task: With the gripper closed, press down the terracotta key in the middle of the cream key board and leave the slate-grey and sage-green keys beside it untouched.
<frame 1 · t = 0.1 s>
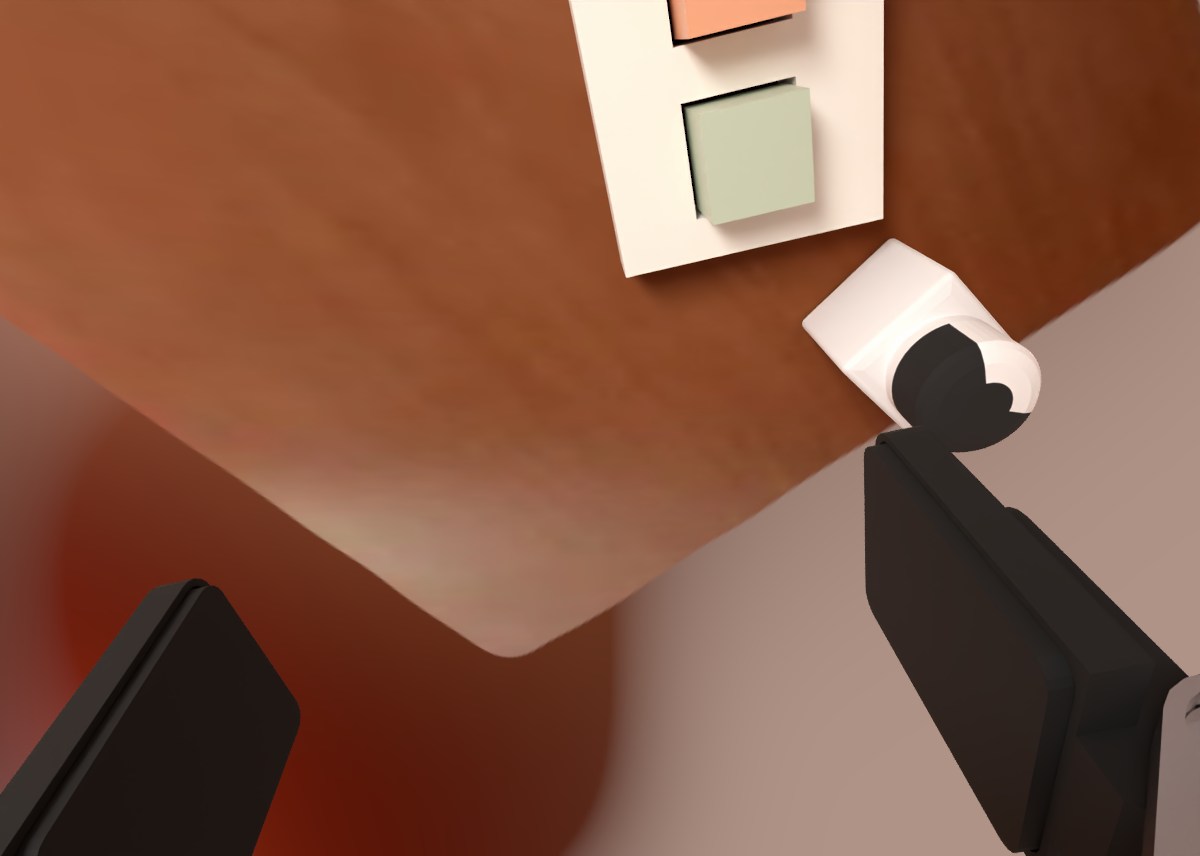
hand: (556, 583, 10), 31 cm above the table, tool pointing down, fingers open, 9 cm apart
key sage: (748, 153, 33), point 4 cm above the table, slide at 0.0 cm
medicine bottle: (876, 314, 42), on the table
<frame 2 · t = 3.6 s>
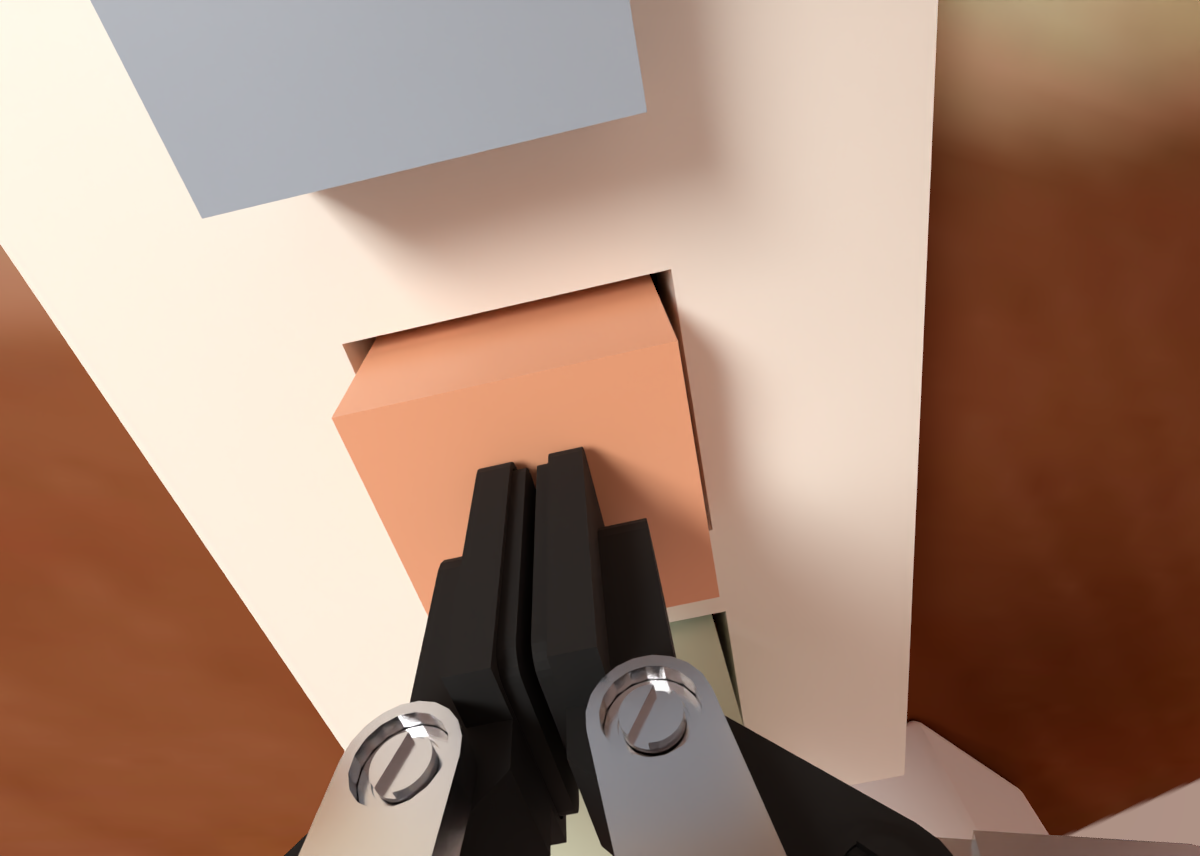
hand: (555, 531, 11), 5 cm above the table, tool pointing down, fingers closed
key sage: (630, 742, 16), point 4 cm above the table, slide at 0.0 cm
key board: (546, 375, 15), on the table
key terracotta: (546, 449, 12), point 3 cm above the table, slide at -0.7 cm, touching gripper
medicine bottle: (886, 794, 25), on the table
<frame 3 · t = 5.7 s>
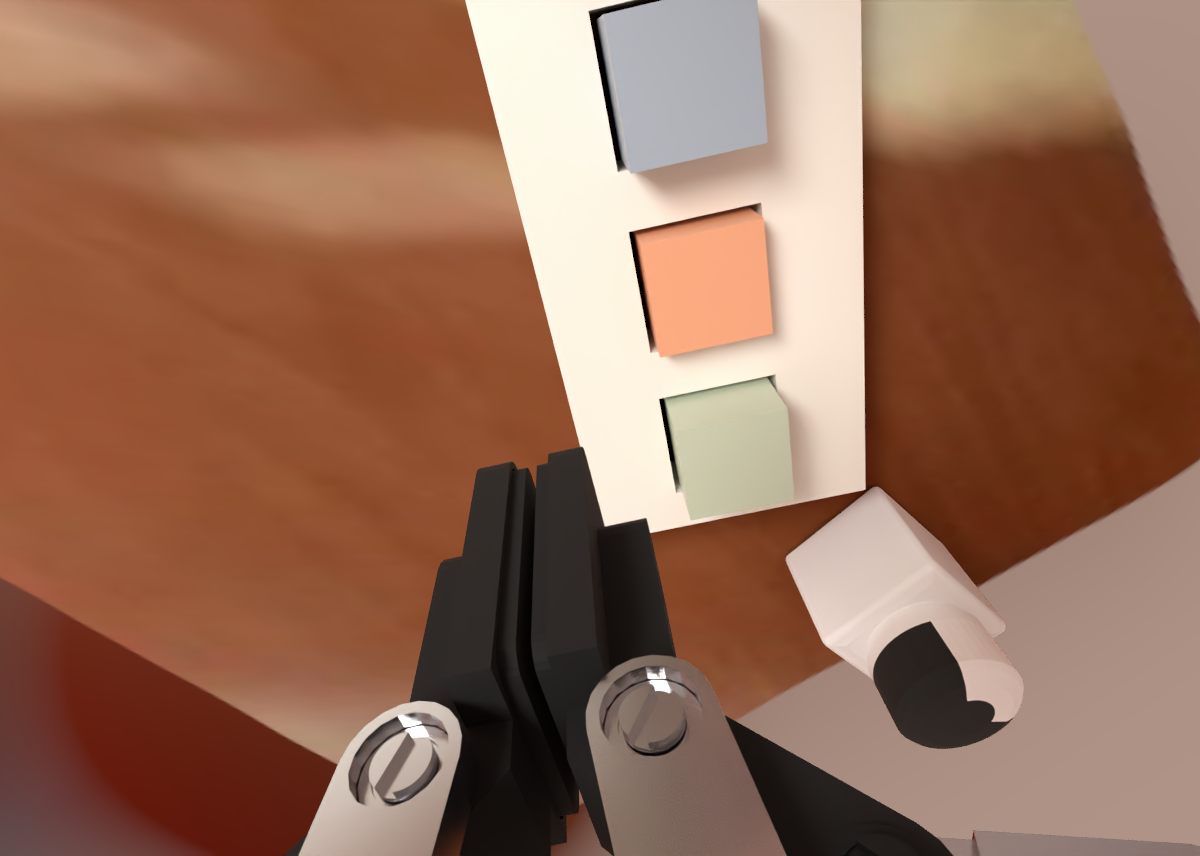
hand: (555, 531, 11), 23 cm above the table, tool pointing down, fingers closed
key sage: (727, 444, 32), point 4 cm above the table, slide at 0.0 cm
key board: (690, 263, 32), on the table
key terracotta: (700, 277, 30), point 2 cm above the table, slide at -1.4 cm
key slate: (679, 79, 25), point 4 cm above the table, slide at 0.0 cm
medicine bottle: (861, 547, 41), on the table
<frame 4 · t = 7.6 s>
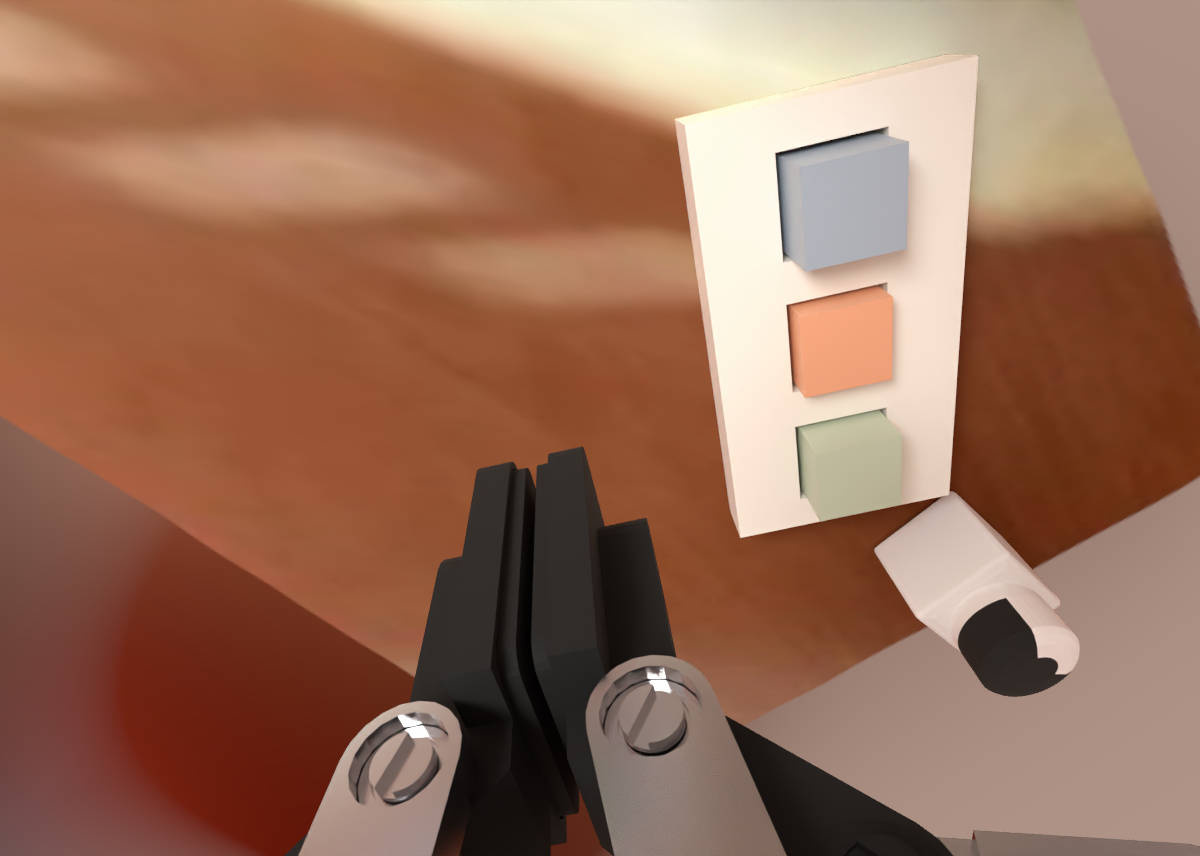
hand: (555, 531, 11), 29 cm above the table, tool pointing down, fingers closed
key sage: (846, 461, 41), point 4 cm above the table, slide at 0.0 cm
key board: (819, 320, 41), on the table
key terracotta: (834, 335, 39), point 2 cm above the table, slide at -1.4 cm
key slate: (839, 200, 33), point 4 cm above the table, slide at 0.0 cm
medicine bottle: (935, 540, 50), on the table
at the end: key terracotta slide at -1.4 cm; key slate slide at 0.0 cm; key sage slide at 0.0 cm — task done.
